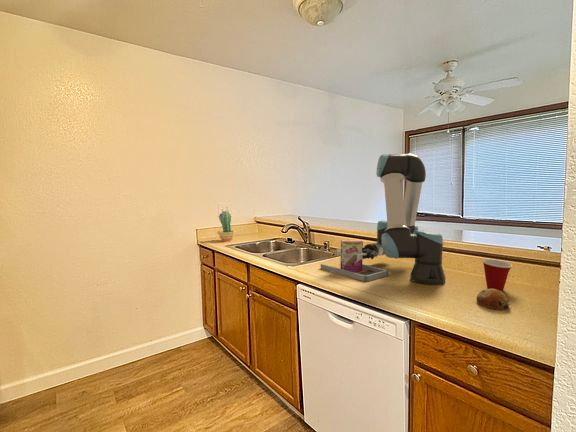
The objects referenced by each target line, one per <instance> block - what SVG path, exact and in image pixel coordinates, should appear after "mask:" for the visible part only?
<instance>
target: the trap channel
mask: <svg viewBox="0 0 576 432" xmlns="http://www.w3.org/2000/svg"><path fill="white" fill-rule="evenodd" d="M320 270H323V271H328V272H331V273H334V274H338V275H342V276H345V277H348V278H351V279H355V280H358V281H362V282H365V283H367V282H370V281H374V280H378V279H380V278H384V277H387V276H389V275H390V274H389V270H388V269H384V268H379V267H376V266H371V265H369V264H368V265H367V264H363V263H362V271H361V272H351V271H347V270H343V269H340V267H335V266H331V265H327V264H325V263H320Z"/></svg>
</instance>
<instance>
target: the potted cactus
mask: <svg viewBox="0 0 576 432" xmlns="http://www.w3.org/2000/svg"><path fill="white" fill-rule="evenodd" d="M218 218H219V221H220V224H221V226H222V230H219V231H217V235H218V236H219V238H220V240H221V242H222V243H228V242H233V239H234V237H235V234H236V232H237V231H236V230H232V227H231V224H232V223H231V222H232V215H231V213H230V212H229V211H228V210H224V211H223V210H222V212H220V214H219V216H218Z"/></svg>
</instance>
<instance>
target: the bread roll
mask: <svg viewBox="0 0 576 432" xmlns="http://www.w3.org/2000/svg"><path fill="white" fill-rule="evenodd" d="M476 303H477V304H478V305H479V306H481V307H483V308H486V309H490V310H494V311H505V310H508V309H509V308H510V307H509V306H510V300H509V298H508V297H507V295H506V294H505V293H504V292H503V291H499V290H497V289H488V288H486V289H485V288H484V289H482V290H480V291H479V292H478V294H477V296H476Z"/></svg>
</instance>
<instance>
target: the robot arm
mask: <svg viewBox="0 0 576 432" xmlns="http://www.w3.org/2000/svg"><path fill="white" fill-rule="evenodd" d="M426 173H427V172H426V167H425V164H424V162H423V161H422V160H421V158H420V157H419V156H418V155H415V154H413V153H387V154H386V153H383V154H381V155H380V156H379V158H378V161H377V165H376V177H377V178H380V182H382V183H383V187H384V198H385V199H384V200H385V212H386V213H385V214H386V220H379V221H377V226H376V236H377V237H376V242H373V243H368V244H367V243H366V244H365V245H364V246H363V254H359V255H357V260H362V261H363V260H366V259H370V260H374V258H377V257H378V256H379V257H380V256H383V255H385V256H386V257H387V258H389V259H414V263H413V266H412V269H411V272H410V280H411V281H413V282H415V283H419V284H423V285H432V286H438V285H443V284H445V283H446V278H447V277H446V274H445V272H444V269H443V248H444V247H443V246H444V241H443V240H444V239H443V238H444V237H443V235H442V234H440V233H439V232H438V233H437V232H433V231H428V230H420V229H419V227H418V225H417V224H416V220H417V219H416V218H417V214H418V208H419V203H420V198H421V194H422V193H421V191H422V187H423V183H424V182H425V180H426V176H427V175H426ZM404 180H405V181H406V187H405V190H404V191H405V193H404V191H403V181H404ZM336 255H337V256H341V249H337V250H336Z"/></svg>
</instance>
